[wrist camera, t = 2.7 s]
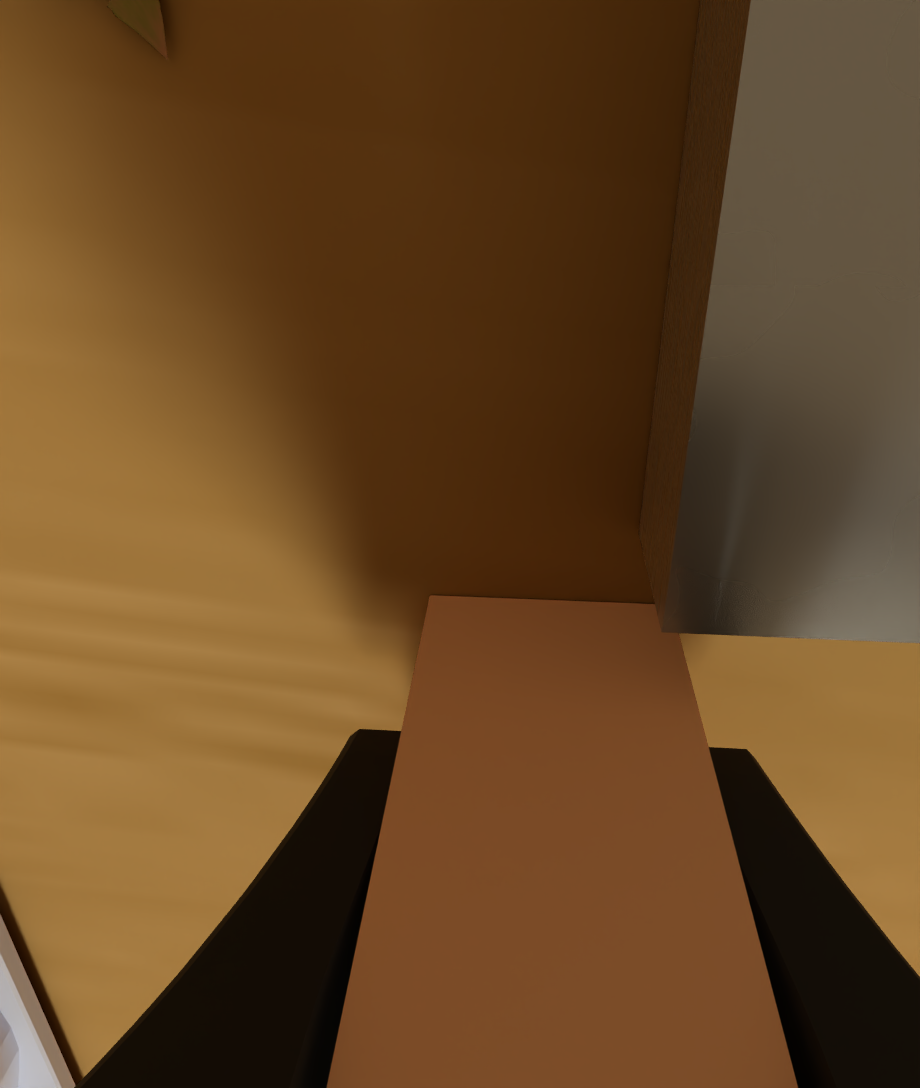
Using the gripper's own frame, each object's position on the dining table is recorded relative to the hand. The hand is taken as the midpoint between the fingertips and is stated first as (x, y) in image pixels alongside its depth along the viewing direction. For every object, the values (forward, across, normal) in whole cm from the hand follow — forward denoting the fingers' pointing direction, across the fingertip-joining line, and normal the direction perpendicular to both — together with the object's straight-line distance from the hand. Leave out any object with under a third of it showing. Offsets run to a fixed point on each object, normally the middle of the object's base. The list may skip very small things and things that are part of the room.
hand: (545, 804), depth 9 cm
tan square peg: (+2, 0, 0) cm, 2 cm away
